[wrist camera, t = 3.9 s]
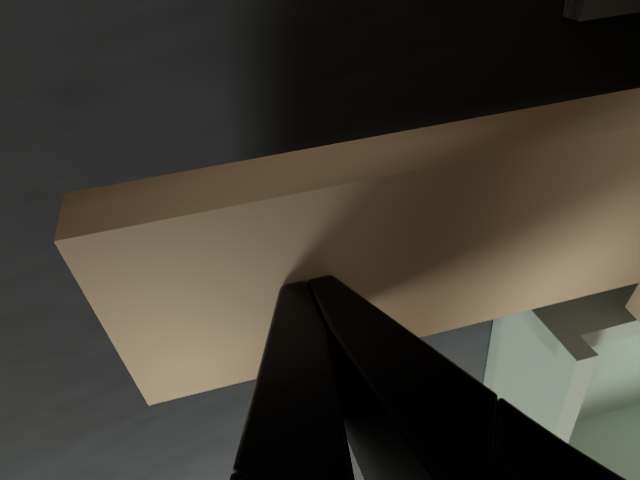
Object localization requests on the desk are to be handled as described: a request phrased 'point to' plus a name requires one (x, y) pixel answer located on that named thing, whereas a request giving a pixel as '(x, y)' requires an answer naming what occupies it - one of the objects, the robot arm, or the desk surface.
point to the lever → (361, 235)
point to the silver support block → (598, 8)
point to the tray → (575, 374)
